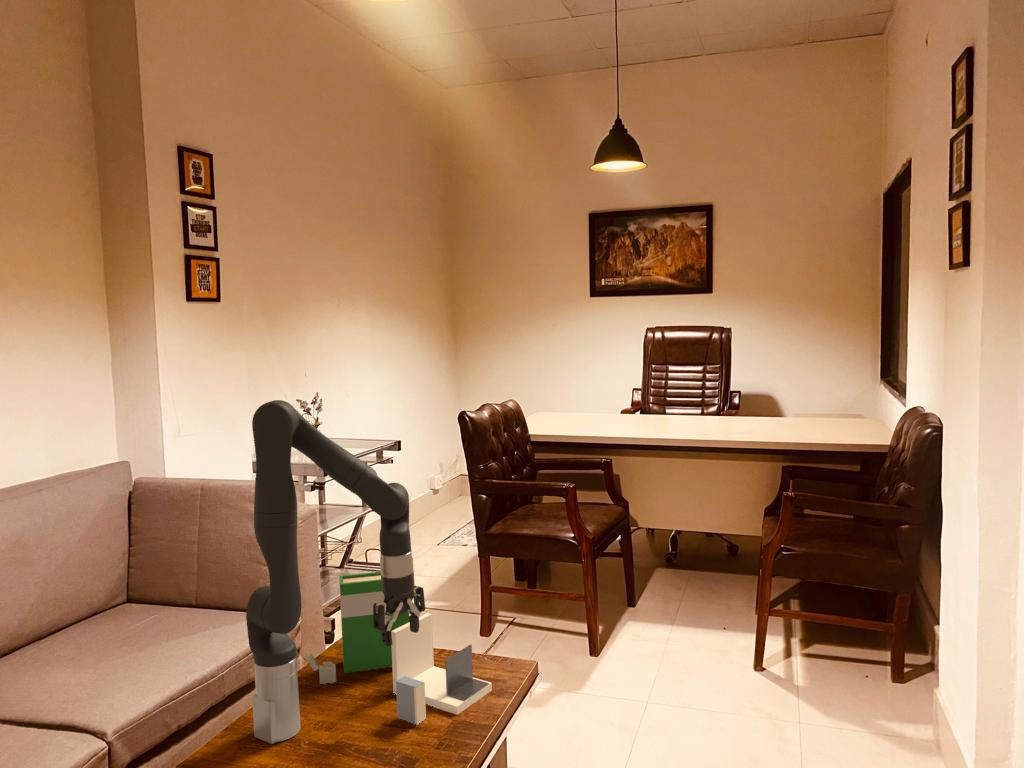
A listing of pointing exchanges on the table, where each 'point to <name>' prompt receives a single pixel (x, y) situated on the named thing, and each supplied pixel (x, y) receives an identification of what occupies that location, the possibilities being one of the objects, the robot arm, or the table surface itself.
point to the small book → (411, 700)
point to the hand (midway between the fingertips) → (401, 638)
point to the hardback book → (364, 623)
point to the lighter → (323, 670)
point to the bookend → (461, 675)
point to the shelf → (425, 666)
